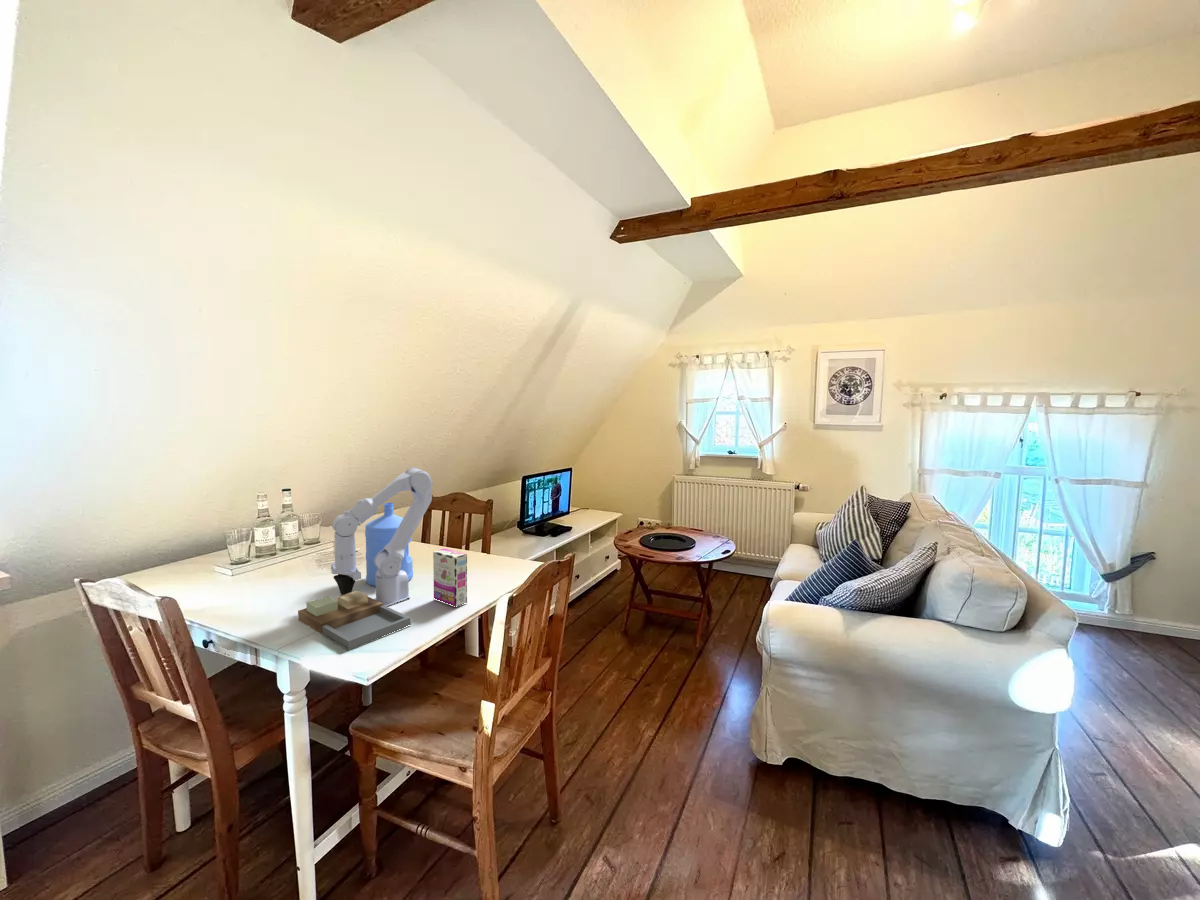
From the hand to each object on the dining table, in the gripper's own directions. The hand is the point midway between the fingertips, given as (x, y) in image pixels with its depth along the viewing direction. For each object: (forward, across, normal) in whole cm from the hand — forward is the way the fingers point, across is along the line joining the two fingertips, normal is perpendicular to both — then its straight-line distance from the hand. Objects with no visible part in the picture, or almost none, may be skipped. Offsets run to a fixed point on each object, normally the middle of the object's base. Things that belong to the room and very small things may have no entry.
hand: (346, 597), depth 151 cm
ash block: (+1, +4, 0) cm, 4 cm away
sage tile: (+1, +2, -8) cm, 8 cm away
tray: (+4, +18, -3) cm, 19 cm away
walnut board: (+4, +4, -4) cm, 7 cm away
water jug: (+4, -13, +22) cm, 26 cm away
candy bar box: (+4, +20, +24) cm, 31 cm away
